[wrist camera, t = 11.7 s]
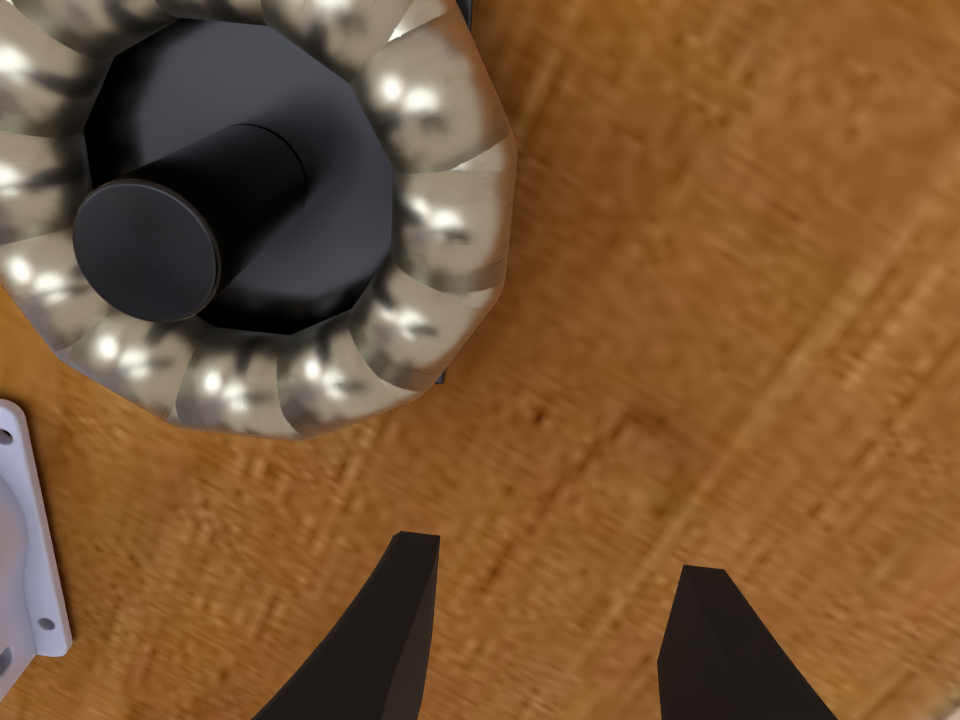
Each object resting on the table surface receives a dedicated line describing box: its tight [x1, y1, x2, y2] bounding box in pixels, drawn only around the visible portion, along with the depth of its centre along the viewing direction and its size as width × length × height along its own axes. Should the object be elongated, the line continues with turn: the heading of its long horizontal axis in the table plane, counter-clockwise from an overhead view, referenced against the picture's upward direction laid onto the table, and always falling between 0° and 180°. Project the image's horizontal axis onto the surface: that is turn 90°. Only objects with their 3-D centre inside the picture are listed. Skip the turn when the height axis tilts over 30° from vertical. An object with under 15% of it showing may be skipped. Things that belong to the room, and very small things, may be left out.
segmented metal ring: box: [0, 0, 518, 442], centre depth 15 cm, size 11×11×2 cm
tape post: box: [72, 0, 478, 384], centre depth 15 cm, size 9×9×6 cm
